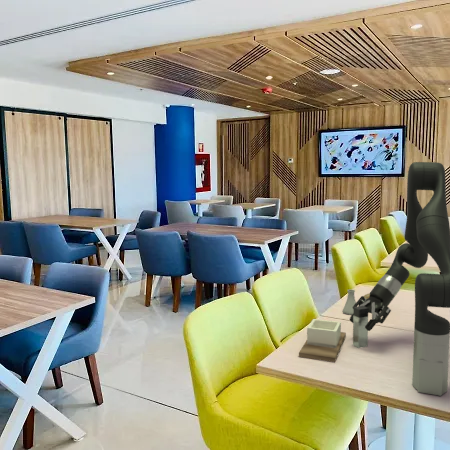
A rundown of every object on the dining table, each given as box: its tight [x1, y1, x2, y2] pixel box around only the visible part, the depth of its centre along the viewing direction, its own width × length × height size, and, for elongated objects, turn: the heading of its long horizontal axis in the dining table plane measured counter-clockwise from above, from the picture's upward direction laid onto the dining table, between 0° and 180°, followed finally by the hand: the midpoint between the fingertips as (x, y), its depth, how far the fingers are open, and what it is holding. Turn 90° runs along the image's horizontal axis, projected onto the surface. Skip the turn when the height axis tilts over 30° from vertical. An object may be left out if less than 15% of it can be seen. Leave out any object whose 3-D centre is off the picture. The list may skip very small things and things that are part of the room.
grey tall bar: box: [352, 305, 369, 349], centre depth 159 cm, size 3×4×14 cm
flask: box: [342, 288, 357, 316], centre depth 195 cm, size 7×7×10 cm
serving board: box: [298, 331, 347, 363], centre depth 160 cm, size 24×12×2 cm, turn 157°
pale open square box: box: [306, 318, 342, 348], centre depth 161 cm, size 10×10×6 cm
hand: (358, 325), depth 159 cm, fingers open, 8 cm apart
